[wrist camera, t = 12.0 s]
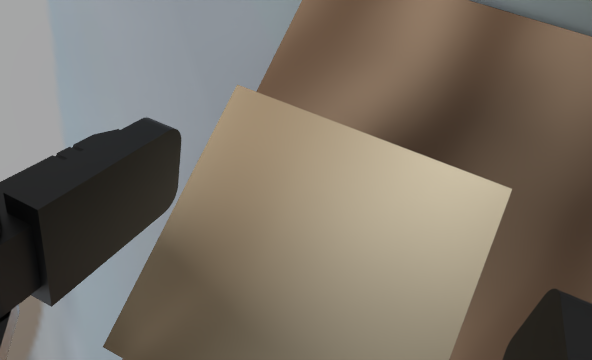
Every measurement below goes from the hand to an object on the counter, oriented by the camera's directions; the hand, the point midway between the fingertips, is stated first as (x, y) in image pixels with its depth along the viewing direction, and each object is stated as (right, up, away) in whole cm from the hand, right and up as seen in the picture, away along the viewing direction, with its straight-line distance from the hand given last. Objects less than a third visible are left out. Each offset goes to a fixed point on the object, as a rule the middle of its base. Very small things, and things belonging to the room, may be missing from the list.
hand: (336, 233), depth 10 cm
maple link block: (+1, -3, +7) cm, 7 cm away
